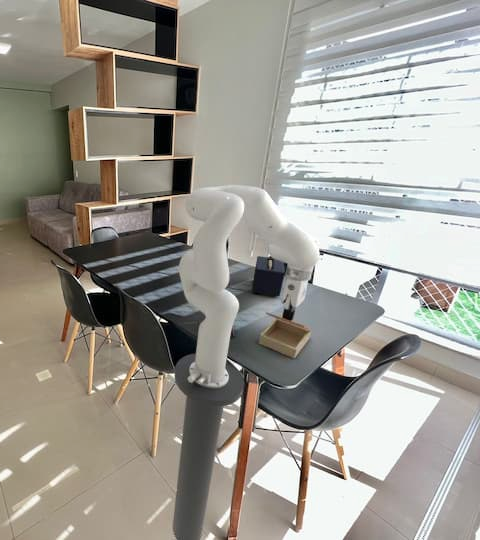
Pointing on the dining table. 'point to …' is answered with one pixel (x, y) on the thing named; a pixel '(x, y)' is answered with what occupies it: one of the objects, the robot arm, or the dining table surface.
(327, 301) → the dining table surface
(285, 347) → the open wooden box
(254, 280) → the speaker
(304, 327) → the cover
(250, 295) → the dining table surface
